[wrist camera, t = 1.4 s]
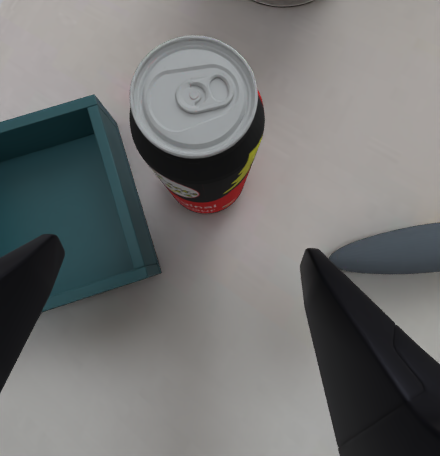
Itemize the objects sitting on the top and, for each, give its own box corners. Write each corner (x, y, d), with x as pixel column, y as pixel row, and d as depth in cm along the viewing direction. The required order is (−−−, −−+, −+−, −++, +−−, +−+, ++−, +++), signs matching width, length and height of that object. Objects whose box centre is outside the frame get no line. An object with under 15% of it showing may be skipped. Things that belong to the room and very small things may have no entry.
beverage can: (161, 153, 22) (97, 42, 11) (232, 134, 23) (247, 4, 11) (180, 224, 22) (135, 190, 10) (252, 203, 22) (293, 147, 10)
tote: (161, 272, 22) (148, 277, 17) (12, 321, 21) (-38, 337, 17) (116, 122, 23) (94, 93, 19) (-27, 165, 22) (-81, 145, 18)
